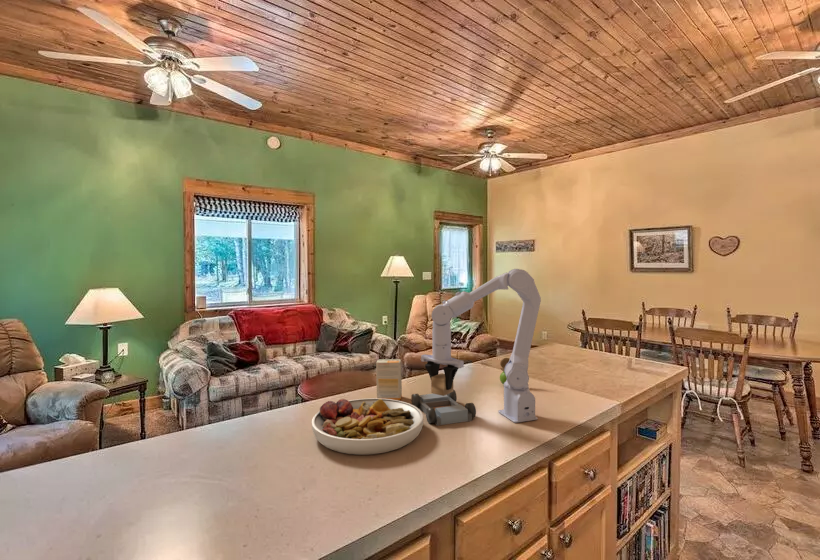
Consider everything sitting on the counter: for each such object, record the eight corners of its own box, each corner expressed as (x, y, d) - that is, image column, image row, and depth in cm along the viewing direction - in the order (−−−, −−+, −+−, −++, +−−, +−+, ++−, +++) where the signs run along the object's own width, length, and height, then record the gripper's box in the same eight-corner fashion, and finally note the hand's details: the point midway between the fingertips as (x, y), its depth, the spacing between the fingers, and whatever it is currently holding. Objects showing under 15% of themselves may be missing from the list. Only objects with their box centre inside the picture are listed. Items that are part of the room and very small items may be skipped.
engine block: (453, 391, 128) (453, 375, 128) (443, 395, 123) (443, 379, 123) (441, 388, 131) (441, 373, 130) (431, 393, 126) (431, 377, 126)
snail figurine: (518, 387, 151) (518, 355, 150) (501, 387, 151) (501, 355, 151) (515, 383, 156) (515, 351, 156) (498, 383, 156) (498, 352, 156)
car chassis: (476, 420, 120) (476, 405, 120) (431, 426, 116) (431, 411, 116) (450, 399, 138) (450, 387, 138) (410, 404, 134) (410, 391, 134)
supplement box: (402, 396, 142) (401, 358, 142) (400, 400, 138) (400, 362, 137) (378, 395, 143) (378, 358, 143) (376, 400, 138) (375, 361, 138)
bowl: (434, 419, 122) (433, 393, 122) (406, 467, 93) (405, 433, 93) (341, 410, 130) (341, 385, 130) (289, 452, 101) (288, 421, 101)
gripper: (468, 344, 125) (468, 388, 125) (430, 339, 134) (430, 380, 134) (456, 348, 119) (456, 394, 120) (416, 342, 128) (417, 385, 129)
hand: (441, 387), depth 127 cm, fingers closed on engine block, 4 cm apart
